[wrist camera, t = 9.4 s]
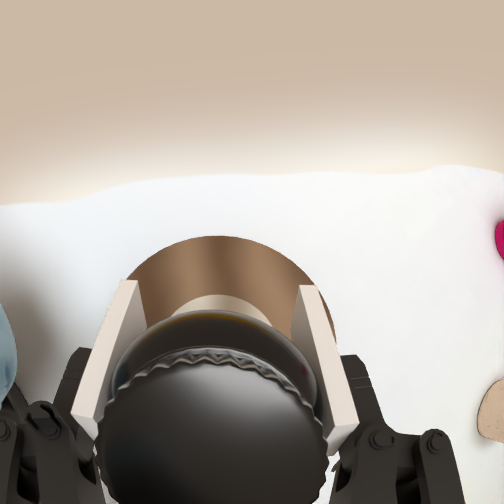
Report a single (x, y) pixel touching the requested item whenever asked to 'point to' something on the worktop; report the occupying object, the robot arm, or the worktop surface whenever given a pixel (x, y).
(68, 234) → the worktop surface
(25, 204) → the worktop surface
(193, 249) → the stand
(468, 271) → the worktop surface
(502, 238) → the pepper mill
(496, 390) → the teacup with lid
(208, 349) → the supplement bottle
